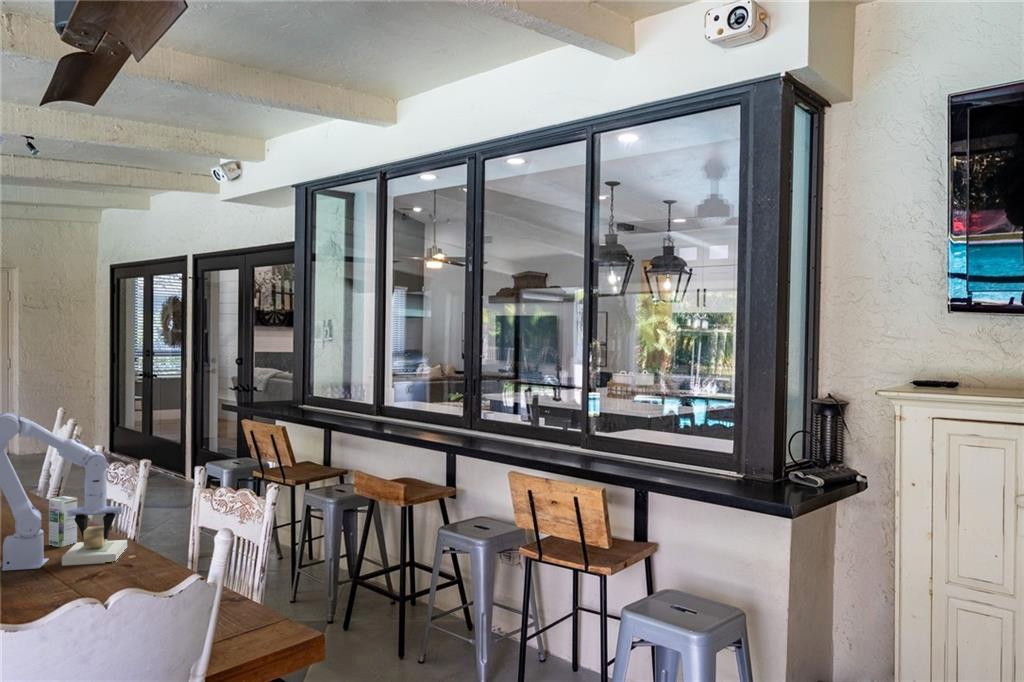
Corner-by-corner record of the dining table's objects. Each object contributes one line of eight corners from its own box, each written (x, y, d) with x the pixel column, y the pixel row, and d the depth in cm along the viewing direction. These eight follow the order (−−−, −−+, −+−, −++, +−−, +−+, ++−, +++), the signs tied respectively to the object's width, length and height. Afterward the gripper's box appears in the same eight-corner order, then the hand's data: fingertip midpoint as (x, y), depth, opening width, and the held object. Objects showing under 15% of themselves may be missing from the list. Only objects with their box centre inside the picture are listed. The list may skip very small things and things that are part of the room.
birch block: (83, 548, 222) (83, 531, 221) (88, 543, 226) (88, 526, 226) (102, 547, 223) (102, 530, 223) (107, 542, 228) (106, 525, 228)
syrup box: (47, 545, 235) (47, 499, 234) (65, 540, 240) (65, 495, 240) (60, 548, 233) (60, 501, 232) (78, 542, 238) (78, 496, 237)
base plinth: (61, 565, 217) (61, 555, 216) (76, 550, 230) (76, 541, 230) (115, 562, 220) (115, 552, 220) (127, 547, 234) (127, 538, 234)
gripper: (63, 497, 219) (64, 544, 219) (119, 495, 222) (119, 541, 223) (71, 492, 226) (71, 537, 226) (124, 490, 229) (125, 534, 230)
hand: (95, 539), depth 225 cm, fingers closed on birch block, 5 cm apart
